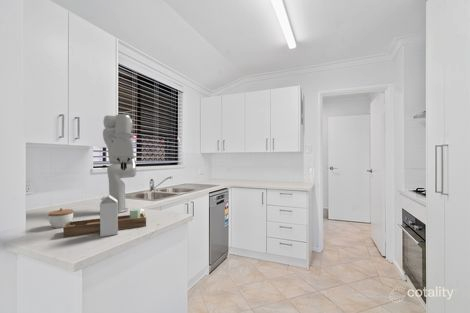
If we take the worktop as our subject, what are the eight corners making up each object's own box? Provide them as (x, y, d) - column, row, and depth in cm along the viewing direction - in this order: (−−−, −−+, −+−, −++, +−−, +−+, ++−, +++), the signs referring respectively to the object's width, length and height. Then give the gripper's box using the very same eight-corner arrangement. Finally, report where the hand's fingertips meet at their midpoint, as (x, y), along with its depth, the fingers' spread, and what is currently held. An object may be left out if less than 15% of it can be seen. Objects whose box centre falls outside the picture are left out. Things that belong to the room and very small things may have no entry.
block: (132, 218, 123) (132, 208, 123) (140, 217, 123) (140, 208, 123) (129, 220, 119) (129, 210, 119) (137, 219, 119) (137, 210, 119)
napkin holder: (140, 216, 140) (139, 207, 140) (155, 217, 137) (155, 208, 137) (121, 223, 126) (121, 213, 126) (138, 225, 122) (138, 214, 122)
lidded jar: (53, 224, 124) (53, 207, 124) (76, 222, 127) (76, 205, 127) (44, 230, 114) (44, 211, 114) (70, 227, 117) (69, 209, 117)
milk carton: (117, 230, 112) (117, 191, 112) (117, 234, 106) (117, 193, 106) (101, 232, 109) (100, 193, 109) (100, 237, 103) (99, 195, 103)
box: (68, 231, 112) (68, 222, 112) (144, 221, 127) (144, 213, 127) (63, 237, 103) (63, 227, 103) (146, 226, 118) (145, 217, 118)
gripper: (137, 137, 133) (137, 169, 133) (108, 137, 126) (108, 170, 127) (138, 136, 126) (138, 169, 126) (107, 136, 120) (107, 170, 120)
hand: (123, 169), depth 126 cm, fingers closed
